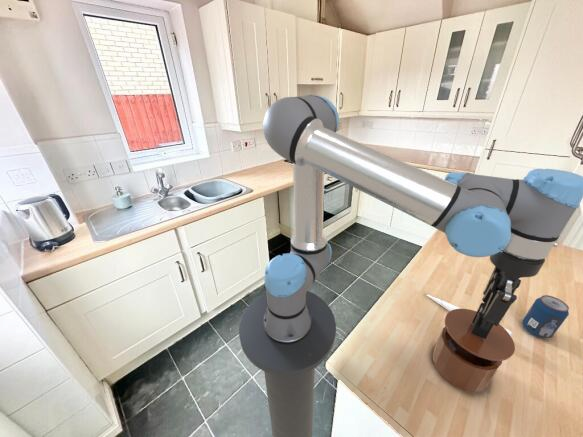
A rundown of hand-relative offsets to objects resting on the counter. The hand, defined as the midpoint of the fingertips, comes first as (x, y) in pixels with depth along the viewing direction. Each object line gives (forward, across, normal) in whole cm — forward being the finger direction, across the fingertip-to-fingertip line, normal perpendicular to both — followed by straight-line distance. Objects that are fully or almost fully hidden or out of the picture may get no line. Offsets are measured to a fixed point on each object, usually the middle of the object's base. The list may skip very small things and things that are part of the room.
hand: (478, 329), depth 58 cm
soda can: (+16, +26, -18) cm, 35 cm away
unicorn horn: (+15, +18, 0) cm, 24 cm away
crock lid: (+1, 0, 0) cm, 1 cm away
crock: (+15, 0, 0) cm, 15 cm away
